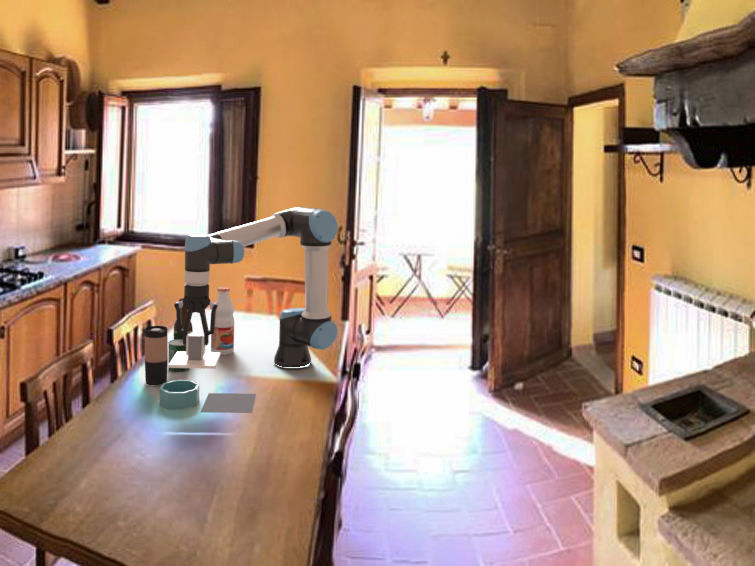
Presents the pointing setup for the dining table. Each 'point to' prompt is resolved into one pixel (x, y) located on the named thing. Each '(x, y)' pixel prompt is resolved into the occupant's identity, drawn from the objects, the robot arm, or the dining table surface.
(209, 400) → the mat
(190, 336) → the lid
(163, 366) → the travel mug
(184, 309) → the beer bottle
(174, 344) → the canned tomato
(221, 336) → the fruit juice
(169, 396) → the bowl
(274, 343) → the dining table surface
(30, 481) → the dining table surface
